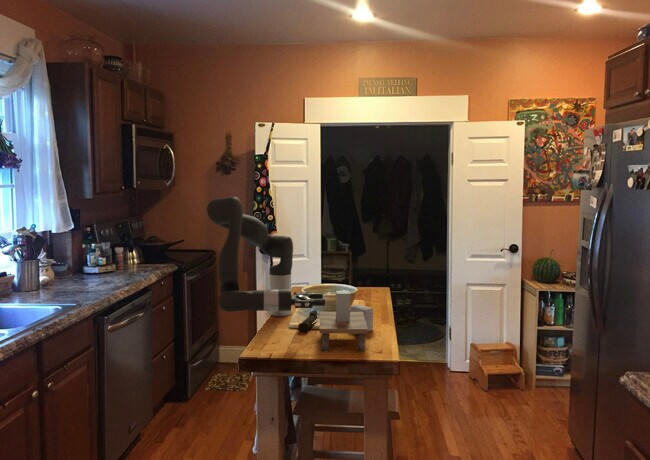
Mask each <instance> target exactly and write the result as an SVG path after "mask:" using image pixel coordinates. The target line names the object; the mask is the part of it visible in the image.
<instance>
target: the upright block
mask: <svg viewBox="0 0 650 460" xmlns="http://www.w3.org/2000/svg"><path fill="white" fill-rule="evenodd" d="M335 312H336V320H337V322H350V312H351V292H350V291H349V290H335Z"/></svg>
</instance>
